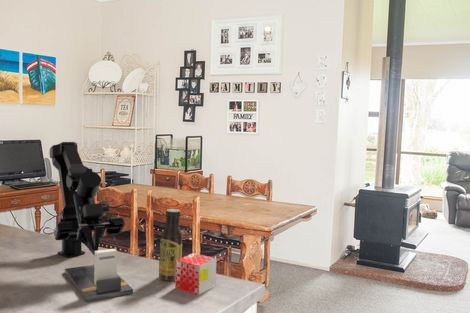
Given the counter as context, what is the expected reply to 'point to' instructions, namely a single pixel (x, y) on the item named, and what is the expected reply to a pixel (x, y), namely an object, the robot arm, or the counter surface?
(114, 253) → the fader tab
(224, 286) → the counter surface
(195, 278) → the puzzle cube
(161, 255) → the sauce bottle
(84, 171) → the robot arm
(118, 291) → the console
